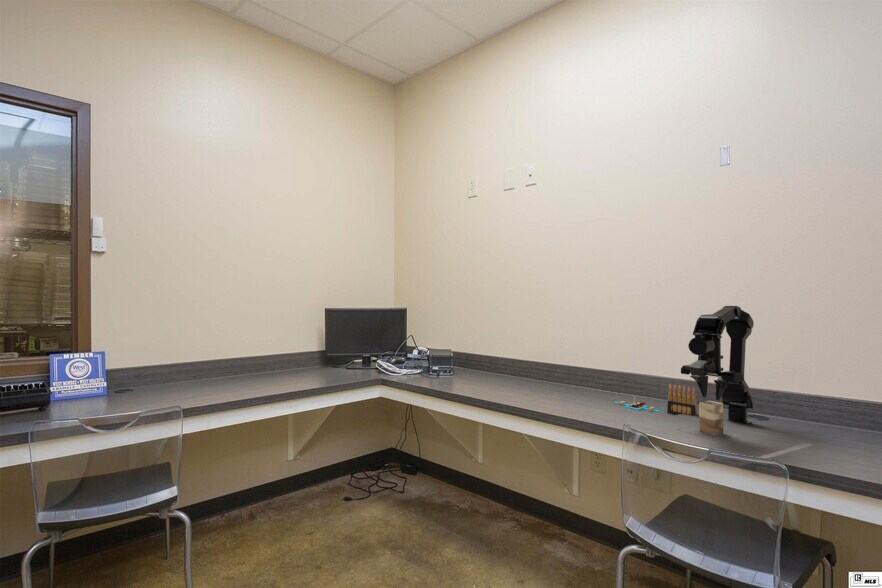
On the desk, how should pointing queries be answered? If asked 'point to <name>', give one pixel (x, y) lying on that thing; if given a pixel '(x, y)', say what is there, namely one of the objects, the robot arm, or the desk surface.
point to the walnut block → (711, 426)
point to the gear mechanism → (637, 406)
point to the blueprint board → (712, 435)
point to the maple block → (711, 410)
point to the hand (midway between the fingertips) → (711, 398)
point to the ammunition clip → (681, 401)
